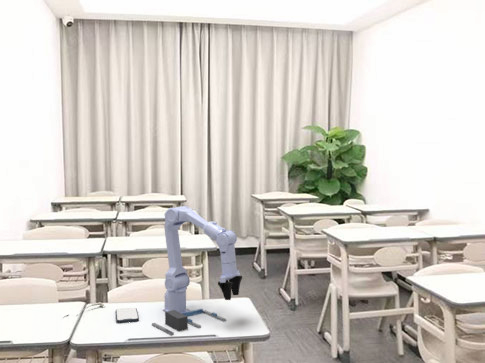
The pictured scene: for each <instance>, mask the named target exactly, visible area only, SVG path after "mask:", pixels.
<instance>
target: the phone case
mask: <svg viewBox="0 0 485 363" xmlns="http://www.w3.org/2000/svg"><path fill="white" fill-rule="evenodd" d="M139 317H140V316H139V312H138V309H137V308H136V307H129V308H118V309H115V319H116V320H115V321H116V324H127V323H128V324H129V322H130V323H137V322H139V321H140V318H139Z"/></svg>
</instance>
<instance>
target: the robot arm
mask: <svg viewBox="0 0 485 363" xmlns="http://www.w3.org/2000/svg"><path fill="white" fill-rule="evenodd" d="M186 222H189V223H191V224H193V225H195V226H197V227H199V228H200V229H202V230H203V233H204V234H205V235H206V236H207V237H209V238H211V239H212V240H214V241H215V242H216V245H217V247H218V248H219V249H218V250H219V252H220V254H219V255H220V263H221V276H220V277H219V281H218V282H217V285H218V287H219V288H220V290H221V293H222V294H223V298H224V300H225V301H231V299H232V296H239V293H240V286H241V283H242V282H241V281H242V280H243V276H242V275H241V273H240V270H239V269H237V268H238V267H237V258H236V249H235V248H236V247H235V244H236V243H237V240H238V237H237V235H236V233H235V232H234V231H233V230H231V229H230V230H229V229H228V230H227V229H226V228H225V227H222V226H221V225H219V224H217V223H218V222H217V221H215V220H214V221H212V220H211V221H208V220H206V219H205V218H203V217H202V216H200V215H199V214H198V213H196V212H195V211H194V210H193V208H192V207H191V208H190V207H189V206H187V205H182V206H177V207H176V206H175V207H169V208H168V209H167V210H166V211H165V213H164V225H163V226H164V227H163V228H164V235H165V236H164V237H165V244H166V252H167V258H168V260H167V261H168V270H167V271H166V272H165V273H164V276H165V280H164V287H165V289H166V291H165V292H164V308H162V311H164V312H167V311H172V310H175V311H177V312H179V313H185V312H189V311H191V310H190V309H187V290H188V287H189V285H190V284H191V283H190V282H191V280H190V277H189V276H190V275H188V272H187V268H185V267H184V266H183V259H182V251H181V242H180V235H179V229H180V227H181V226H182V225H183V224H185V223H186Z"/></svg>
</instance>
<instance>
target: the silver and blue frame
mask: <svg viewBox="0 0 485 363" xmlns="http://www.w3.org/2000/svg"><path fill="white" fill-rule="evenodd" d="M182 314H184V315H186V316H188V317H192V316H195V315H200V314H204V315H208V316H210V317H211V318H214V319H217V320H219V321H220V322H227V318H225V317H223V316H220V315H218V313H217V312H214V311H213V312H210V311H207V310H204V309H203V308H199V309H194V310H190V311H189V312H185V313H182ZM188 324H189V325H191V326H193V327H194V328H197V329H201V328H202V325H200V324H198V323H196V322H194V321H193V319H191V318H188ZM151 326H152V327H155V328H156V329H157V330H160V331H162V332H163V333H166V334H168V335H169V336H171V337H172V336H174V335H175V332H173V331H171V330H170V329H167V328H166V327H164V326H162V325H161V324H158V323H157V322H151Z"/></svg>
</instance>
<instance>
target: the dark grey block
mask: <svg viewBox="0 0 485 363" xmlns="http://www.w3.org/2000/svg"><path fill="white" fill-rule="evenodd" d="M188 317H189V316H186V315H184V314H182V313H179V312H177V311H175V310H172V311H167V312H166V311H164V324H165V325H166V326H168V327H170V328H171V329H173V330H175V331H177V332H182V331H185V330H188V328H189V327H188V326H189V325H188V319H189V318H188Z"/></svg>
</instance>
